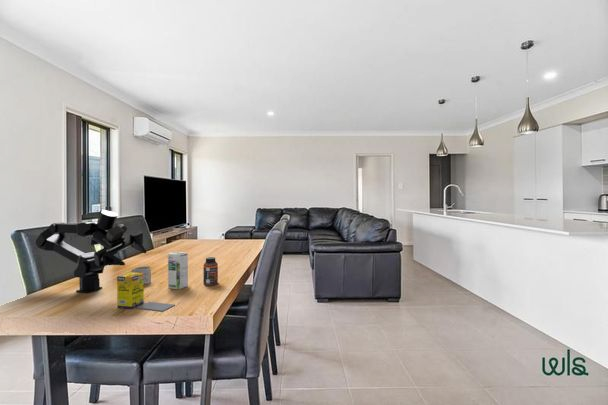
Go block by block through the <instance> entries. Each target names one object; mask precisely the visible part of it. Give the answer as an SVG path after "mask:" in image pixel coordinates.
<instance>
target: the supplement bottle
mask: <svg viewBox="0 0 608 405" xmlns="http://www.w3.org/2000/svg"><path fill="white" fill-rule="evenodd" d="M218 264H219V263H218V262H216V257H215V256H214V257H213V256H208V257H206V258H205V262H204V264H203V272H202V274H203V285H205V286H215V285H217V284H218V282H219V277H218V276H219V270H218V269H219V267H218V266H219V265H218Z"/></svg>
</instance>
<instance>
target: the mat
mask: <svg viewBox="0 0 608 405" xmlns="http://www.w3.org/2000/svg"><path fill="white" fill-rule="evenodd" d="M175 306H176V304H172V303H165V302H157V301H156V302H155V301H148V302H146V303H143V304H140V305H138V306H136V307H135V308H136V309H140V310H148V311H155V312H156V311H157V312H162V313H163V312H164V311H167V310H169V309H171V308H173V307H175Z"/></svg>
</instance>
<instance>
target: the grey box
mask: <svg viewBox="0 0 608 405" xmlns="http://www.w3.org/2000/svg"><path fill="white" fill-rule="evenodd" d="M131 272H133V273H143V286H144V285H148V284H151V283H152V270H151V266H148V265H145V266H137V267H134V268H132V269H131Z"/></svg>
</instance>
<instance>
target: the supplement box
mask: <svg viewBox="0 0 608 405" xmlns="http://www.w3.org/2000/svg"><path fill="white" fill-rule="evenodd" d="M144 290H145V289H144V285H143V273H133V272H128V273H124V274H121V275H118V276H116V292H117V294H116V296H117V298H116V300H117V304H116V307H117V308H119V309H130V310H132V309H134V308H136V307H138V306H140V305H143V304H145V303H144V302H145V301H144V299H145V298H144V296H145V295H144V294H145V293H144Z"/></svg>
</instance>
